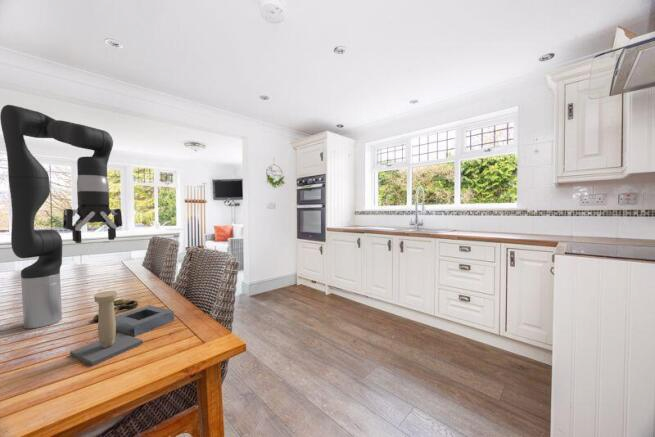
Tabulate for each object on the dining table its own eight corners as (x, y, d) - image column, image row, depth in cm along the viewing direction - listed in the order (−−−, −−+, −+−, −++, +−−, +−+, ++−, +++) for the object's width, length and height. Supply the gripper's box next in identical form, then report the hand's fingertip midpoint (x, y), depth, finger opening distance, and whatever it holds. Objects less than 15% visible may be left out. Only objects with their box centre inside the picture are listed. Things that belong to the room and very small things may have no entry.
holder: (110, 328, 87) (109, 318, 87) (150, 314, 99) (149, 305, 99) (134, 336, 81) (134, 325, 81) (174, 320, 93) (173, 310, 93)
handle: (97, 353, 70) (95, 298, 70) (95, 344, 75) (93, 293, 74) (120, 346, 74) (118, 294, 73) (116, 338, 78) (115, 289, 78)
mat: (70, 355, 71) (70, 351, 71) (120, 335, 82) (119, 332, 82) (92, 365, 66) (92, 361, 66) (142, 343, 77) (142, 340, 77)
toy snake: (100, 309, 92) (79, 309, 94) (101, 322, 92) (79, 322, 94) (146, 295, 109) (127, 295, 111) (146, 305, 109) (127, 306, 111)
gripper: (113, 192, 90) (114, 238, 91) (57, 189, 77) (59, 243, 78) (125, 191, 87) (127, 239, 87) (69, 188, 74) (71, 244, 75)
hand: (95, 241), depth 83 cm, fingers open, 8 cm apart
